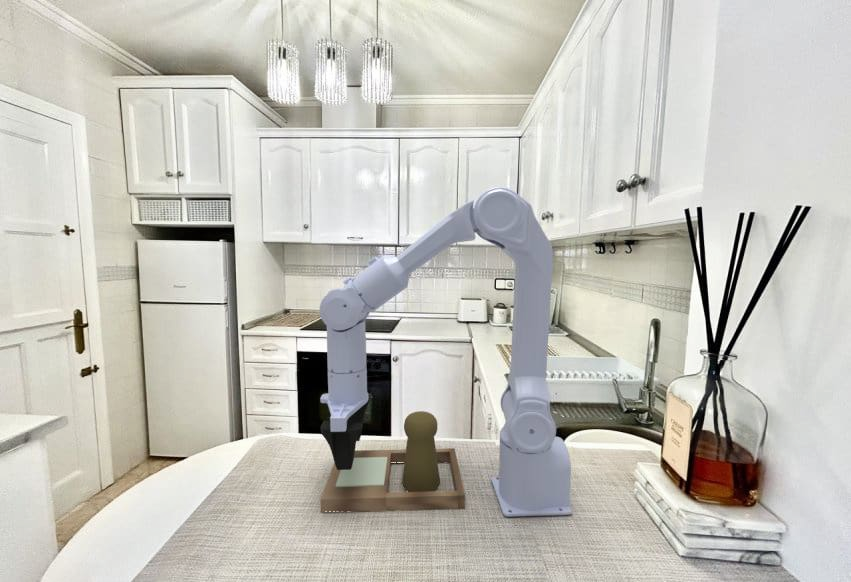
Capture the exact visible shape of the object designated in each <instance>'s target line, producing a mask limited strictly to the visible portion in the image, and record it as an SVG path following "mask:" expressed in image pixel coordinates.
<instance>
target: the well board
mask: <svg viewBox="0 0 851 582" xmlns="http://www.w3.org/2000/svg"><path fill="white" fill-rule="evenodd" d="M405 454H406V449H373V450H372V449H371V450H369V449H367V450H365V449H363V450H359V449H358V450H355V454H354V461H353V465H352V468H351V470H337V468H336V465H335V462H334V463H333V466H332V468H331V471H330V474H329V477H328V479H327V481H326V484H325V487H324V489H323V492H322V494H321V497H320V500H319V501H320V513H321V512H325V511H327V512H329V511H331V512H333V511H335V512H336V511H339V512H338V513H342V512H341V511H344V512H343V513H348V512H347V511H370V512H384V511H383V510H392V511H391V512H394V511H396V510H404V511H429V510H430V511H431V510H432V511H434V509H437V510H460V509H461V510H463V509H464V510H465V509H466V506H465V505H466V493H465V489H464V484H463V481H462V476H461V475H462V474H461V471H460V467H459V462H458V458H457V453H456V448H454V447H453V448H452V447H451V448H450V447H449V448H448V447H447V448H444V447H443V448H436V454H437V462H450V463H449V467H451V468H450V473H452V474H451V478H452V484H453V490H438V491H437V490H436V491H429V492H407V491H401V492H397V491H395V492H389V489H390V480H389V478H390V477H391V470H390V468H391V467H392V464H391V462H396V463H397V462H405ZM391 469H392V468H391ZM390 479H391V478H390ZM388 488H389V489H388ZM396 512H397V511H396Z"/></svg>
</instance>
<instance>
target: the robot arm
mask: <svg viewBox="0 0 851 582" xmlns="http://www.w3.org/2000/svg"><path fill="white" fill-rule="evenodd" d="M476 235H477V236H479V238H481V239H483V240H485V241H486V242H487V243H490V244H492V245H495V246H497V247H498V248H500V249H501V251H503V252H504V254H505V255H507V257H509V258H510V259H511V260H512V261H513V262H514V265H515V266H514V267H515V268H514V283H513V284H514V286H513V305H512V306H513V309H512V328H511V330H512V331H511V348H510V349H511V351H510V352H511V353H510V369H509V373H508V375H507V384H506V387H505V390H503V393H502V394H501V397H500V407H501V412H502V413H503V416H504V420H505V422H504V424H503V426H502V428H501V429H500V431H499V458H498V460H499V461H498V462H499V464H498V466H499V468H498V469H499V470H498V473H499V474H498V476H492V477H491V479H490V481H491V484H492V486H493V490H494V493H495V495H496V498H497V501H498V503H499V506H500V509H501V512H502V515H503V516H505V517H533V516H535V517H536V516H564V515H565V516H566V515H568V516H569V515H572V512H573V511H572V509H571V506H570V503H571V502H570V501H571V479H572V478H571V477H572V463H571V456H570V452H569V450H568V446H567V445H566V443H565V441H564V439H562V438H561V437H559V436H556V435H557V427H556V423H555V421H554V419H553V417H552V414H551V398H550V391H549V388H548V383H547V369H548V368H547V367H548V366H547V365H548V349H549V331H550V313H551V300H552V299H551V297H552V296H551V294H552V292H551V291H552V281H553V280H552V279H553V263H554V261H553V260H554V252H553V251H554V250H553V246H552V244H551V242H550V240H549V238H548V237H547V235H546V234H545V232H544V230H543V229H542V226H541V224H540V223H539V221H538V220H537V218H536V216H535V213H534V210H533V207H532V205H531V203H529V201H527V200H526V199H524V198H523V197H521V195H519V194H518V193H517V192H516V191H514V190H512V189H510V188H508V187H503V186H502V187H501V186H499V187H497V186H496V187H492V188H490V189H487V190H485V191H484V192H483V193H482V194H481V195H480V196H479V197H478V198H477V200H476V201H475V203H474V199H472V200H470V201H468V202H466V203H464V204H462V205H461V206H460V207H459V208H457V209H455V210H454V211H453V212H451V213H450V214H448V215H447V216H445V217H444V218H443V219H442V220H441V221H439V222H438V223H436V225H435V226H434V225H433V227H432V228H430V229H429V230H427V232H426V233H424V234H423V235H422V236H421V237H419V238H418V239H417V240H416V241H414V242H413V243H412V244H410V245H409V246H408V247H407V248H405V250H403V251H402V252H401V253H399V254H398V255H397V256H393V255H389V254H383V255H382V256H381V257H378V256H373V257H372V258H371V259H369V260H368V261H367V263H368V266H367V267H365V269H363V270H362V271H360V273H358V274H357V275H355V276H354V277H353V278H352V277H347V278H345V280H343V284H344V288H334V289H331V290H329V291H328V292H327V294H326V295H325V296H324V297H323V298H322V300H321V302H320V305H319V315H320V319H321V320H322V322H323V324H325V325H326V352H327V353H326V354H327V359H326V360H327V385H328V386H327V387H328V390H327V391H328V393H323V394H322V395H321V396H320V398H319V399H320V403H321V404H327V406H328V410H329V413H330V417H329V420H323V422H322V424H321V425H320V433H321V435H322V437H323V438H324V439H325V440H326V442H327V444H328V446H329V448H330V452H331V455H332V457H333V461H334V463H335V465H336V468H337V470H351V468H352V465H353V461H354V454H355V451H356V446H357V442H360V440H361V436H362V431H363V426H364V421H365V414H366V410H367V408H368V406H369V403H370V402H371V399H372V394H371V393H369V392H368V377H367V376H368V375H367V374H368V370H367V335H366V319H367V318H368V317H369V315H370V313H371V312H375V311H376V310H378V309H379V308H381V307H382V306H384V305H385V304H386V303H388V302H389V301H390V300H392V299H393V298H394V297H396V296H397V295H398V294H400V293H402V292H403V291H404V290H405V289H407V288H408V287H409V286H408V285H409V282H410V281H409V280H410V275H411V274H412V273H413V272H415V271H416V270H417V269H419V268H421V267H422V266H423V265H425V264H427V263H428V262H429V261H431V260H432V259H433V258H435V257H436V256H438V255H439V254H441V253H443V252H444V251H445V250H447V249H448V248H450V247H451V246H453V245H454V244H457V243H465V242H471V241H473V242H474V241H475V239H476Z"/></svg>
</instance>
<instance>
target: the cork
mask: <svg viewBox="0 0 851 582" xmlns="http://www.w3.org/2000/svg"><path fill="white" fill-rule="evenodd" d="M437 420H438V419H437V418H436V417H435V415H434V414H432V413H430V412H428V411H414V412H412V413H410V414H408V415H407V416H406V418H405V420H404V424H403V431H404V434H405V436H406V437H407V438H406V439H407V441H406V447H405V448H406V454H405V462H404V464H403V471H402V481H401V485H402V484H403V486H402V488H403V487H404V488H405V489H406V490H407V491H408V492H429V491H437V490H438V489H439V488H440V486H441V478H440V470H439V469H440V468H439V463H438V462H437V454H436V449H437V448H436V441H435V440H436V439H435V436H436V435H437V433H438V421H437ZM439 485H440V486H439ZM438 487H439V488H438ZM404 488H403V489H404ZM405 489H404V490H405ZM406 490H405V491H406ZM407 491H406V492H407Z"/></svg>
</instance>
